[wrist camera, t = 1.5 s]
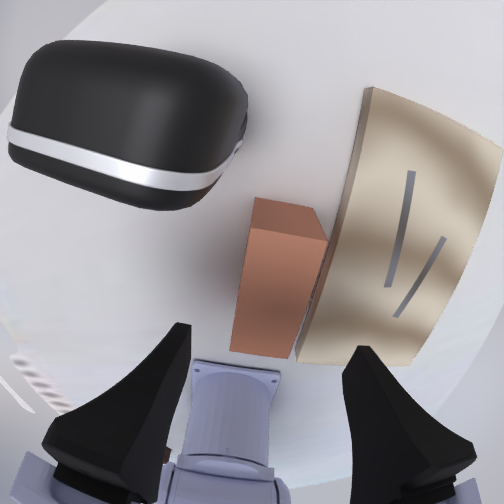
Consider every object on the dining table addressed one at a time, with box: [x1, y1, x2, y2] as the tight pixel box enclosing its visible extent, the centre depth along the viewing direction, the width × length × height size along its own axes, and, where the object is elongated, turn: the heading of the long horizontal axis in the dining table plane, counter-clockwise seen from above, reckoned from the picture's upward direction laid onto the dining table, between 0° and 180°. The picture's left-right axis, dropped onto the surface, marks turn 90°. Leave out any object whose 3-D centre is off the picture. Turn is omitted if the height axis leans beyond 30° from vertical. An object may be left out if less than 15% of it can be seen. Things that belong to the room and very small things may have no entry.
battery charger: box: [7, 40, 248, 211], centre depth 10 cm, size 7×4×11 cm, turn 69°
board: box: [295, 87, 503, 366], centre depth 18 cm, size 20×11×2 cm, turn 172°
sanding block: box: [229, 197, 328, 359], centre depth 17 cm, size 8×4×5 cm, turn 171°
